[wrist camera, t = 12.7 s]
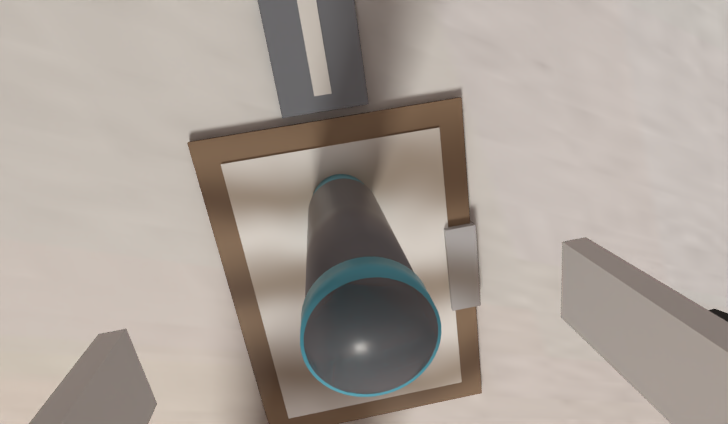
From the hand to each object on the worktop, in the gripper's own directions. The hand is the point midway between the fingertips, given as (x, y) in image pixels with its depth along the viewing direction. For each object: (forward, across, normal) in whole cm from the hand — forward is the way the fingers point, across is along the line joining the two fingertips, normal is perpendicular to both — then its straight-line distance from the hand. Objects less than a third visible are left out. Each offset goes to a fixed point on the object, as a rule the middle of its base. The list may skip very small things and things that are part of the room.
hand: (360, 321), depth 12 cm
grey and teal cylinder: (+14, 0, -1) cm, 14 cm away
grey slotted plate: (+14, 0, +8) cm, 17 cm away
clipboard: (+14, 0, -7) cm, 15 cm away
